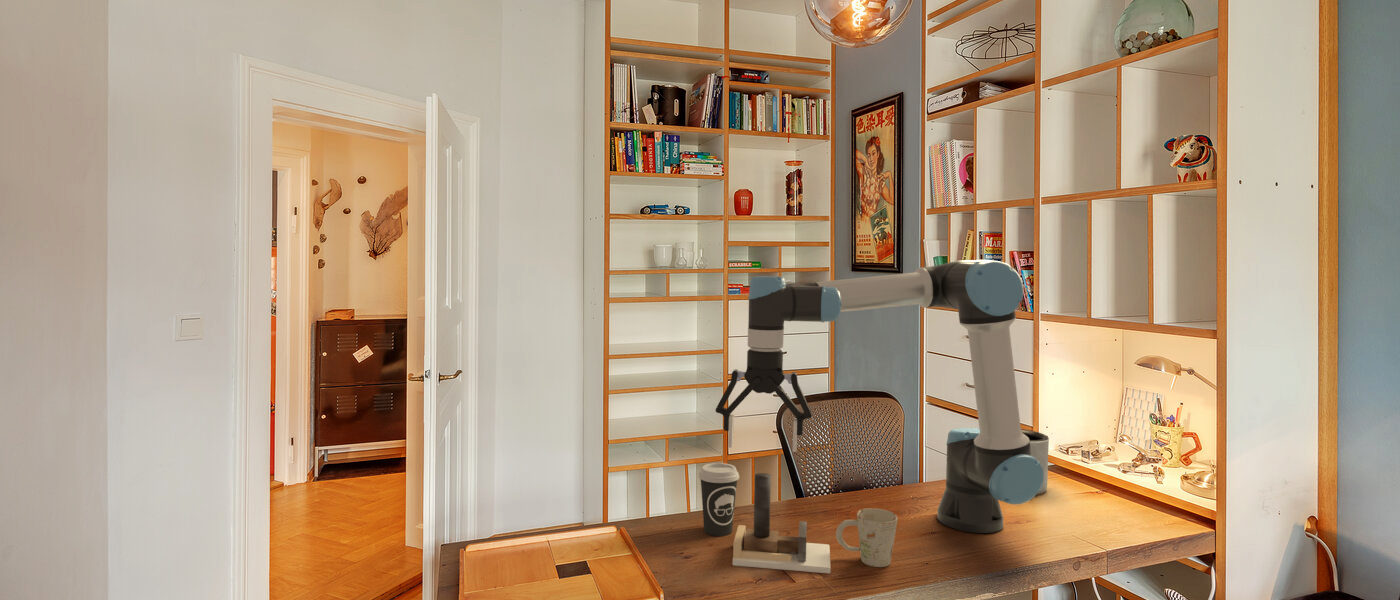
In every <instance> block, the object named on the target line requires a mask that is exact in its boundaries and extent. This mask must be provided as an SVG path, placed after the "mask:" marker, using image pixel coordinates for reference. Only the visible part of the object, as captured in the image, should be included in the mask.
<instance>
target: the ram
mask: <svg viewBox="0 0 1400 600" xmlns="http://www.w3.org/2000/svg"><path fill="white" fill-rule="evenodd" d="M771 475H772V474H769V473H766V472H765V473H764V472H758V473H755V474H754V502H753V503H754V505H753V510H754V511H753V528H746V533H745V537H744V551H756V552H768V553H777V552H778V551H784V552H796V553H798V561H806V543H807V531H808V529H807V528H808V526H807V525H808V522H807V521H802V520H799V523H798V525H799V526H798V536H788V535H780V534H779V533H780V531H779V530H771V527H770V526H771V493H772V492H771V485H772V484H771V483H772V476H771Z"/></svg>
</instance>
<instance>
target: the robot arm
mask: <svg viewBox="0 0 1400 600" xmlns="http://www.w3.org/2000/svg"><path fill="white" fill-rule="evenodd" d="M1023 298H1024V283H1023V280H1022V277H1021V276H1020V274H1019V273H1018V271H1017V270H1016V269H1015V268H1013V267H1012V266H1011V265H1010V264H1009V263H1006V262H1003V261H998V260H996V259H995V260H992V259H976V260H975V259H974V260H973V259H971V260H968V259H967V260H966V259H964V260H956V261H955V260H954V261H952V262H951V261H950V262H947V263H941V264H938V265H937V264H936V265H933V266H932V265H931V266H923V267H918V268H917V269H915V271H914V272H907V273H906V272H905V273H896V274H888V275H887V274H886V275H885V274H884V275H875V276H866V277H856V278H845V279H835V280H825V281H817V282H816V281H815V282H806V283H805V282H804V283H788V284H787V283H786V279H785V277H783V276H772V275H771V276H768V275H755V276H753V277H751V279H750V281H749V290H748V297H747V299H748V325H747V326H748V328H747V346H748V348H749V349H748V350H747V351H746V352H747V353H746V357H747V358H746V370H745V371H739V370H738V369H734V370H733V371H732V372H731V376H730V382H729V384H728V386H727V387H726V388H725V389H726V390H725V391H724V392H723V395H722V396H721V399H720V401H719V403H718V404H717V406H716V408H715V413H717V414H720V415H722V416H723V430H724V432H728V436H727V437H728V438H727V439H728V440H727V441H728V442H727V443H728V445H727V448H729V449H730V448H732V447H733V446H734V421H735V414H732V413H733V412H734V411H735V409H736V408H737V407H738V406H739V405H740V404H741V403H742V402H743V401H744V400H745V399H746V398H747V396H748V395H749V394H750V393H752V391H753V392H755V393H756V394H762V393H765V394H770V395H771V394H773V393H776V395H777V396H778V397H779V398H780V399H781V401H782V402H783V403H784V404H785V406H786V407H787V408H788V409H789V411H790V412H791V413H792V415H793V416H794V417H795V418H793V425H792V427H793V429H792V431H793V432H792V452H793V453H796V452H797V448H798V447H797V444H798V441H797V440H798V436H800V437H801V436H803V433H804V432H803V431H804V430H803V429H804V424H803V423H804V420H807V419H811V418H812V416H813V414H812V413H813V412H812V410H811V408H810V406H809V404H808V401H807V400H806V397H805V395H804V393H803V391H802V389H801V386H800V384H799V383H798V382H799V381H798V373H797V372H795V371H793V372H791V373H784V371H783V368H784V367H783V364H784V351H782V350H781V349H782V348H783V347H784V329H785V326H784V324H785V322H817V323H818V322H819V323H825V322H835V321H837V320H838V318H839V317H840V315H841V313H844V312H854V311H855V312H856V311H865V310H874V309H882V308H892V307H903V306H913V305H919V307H921V308H923V309H924V308H945V309H954V310H957V311H958V312H957V313H958V320H959V324H960V325H961V326H962V327H964V328H965V329H966V330H967V334H968V342H969V352H970V359H971V362H970V363H971V367H972V377H973V383H974V384H973V385H974V392H975V393H974V394H975V395H974V396H975V403H976V412H977V420H978V427H979V428H976V427H975V428H973V427H960V428H953V429H951V430H950V431H949V432H948V434H947V441H946V444H945V445H946V466H945V467H946V468H945V473H946V474H945V476H946V477H945V490H944V491H943V493H942V495H941V496H942V497H941V499H940V502H939V504H938V507H937V515H936V516H937V517H936V518H937V520H938V521H939V523H941V524H942V525H945V526H946V527H948V528H952V529H954V530H958V531H961V532H967V533H975V534H989V533H996V532H999V531H1001V530H1002V529H1004V514H1003V512H1002V509H1001V505H1000V502H999V501H1001V502H1004V503H1005V504H1009V505H1022V504H1025V503H1027V502H1030V501H1031V500H1032V499H1034V497H1036V495H1035V494H1036V493H1037V492H1039V491H1040V489H1041V487H1042V484H1043V480H1044V471H1043V468H1042V466H1041V464H1040V463H1039V462H1038V460H1037V459H1036V458H1034V457H1032V456H1031V448H1030V440H1029V438H1028V437H1027V436H1026V435H1024V434H1023V433H1022V432H1021V429H1022V428H1021V427H1022V426H1021V419H1020V412H1019V411H1020V410H1019V409H1020V408H1019V402H1018V394H1017V393H1018V391H1017V384H1016V375H1015V366H1014V356H1013V348H1012V339H1011V338H1012V337H1011V330H1010V326H1011V325H1012V324H1013V323H1014V322H1015V321H1016V319H1017V315H1016V310H1017V309H1018V308H1019V305H1020V303H1021V302H1022V301H1023ZM742 378H744V379H745V380H746V382H747V386H746V387H745V388H744V389H743V390H742V392H740V393H739V394H738V395H737V397H736V398H735V399H734V400H733V401H732V402H731V403H730V405H729V406H727V407H724V406H725V405H726V403H727V401H728V399H729V398H730V396H731V394H732V392H733V390H734V388H735V387H736V385H737V383H738V382H741V381H742ZM784 380H786V382H787V383H788V384H790V385H791V387H792V389H793V392H794V394H795V396H796V398H797V400H798V402H799V405H800V407H801V408H802V411H801V410H800V409H799V408H798V407H797V405H796V404H795V403H794V402H793V400H792V399H791V398H790V396H789V395H788V394H787V393H786V392H785V390H784V389H783V387H782V386H781V384H782V383H783V382H784Z"/></svg>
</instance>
